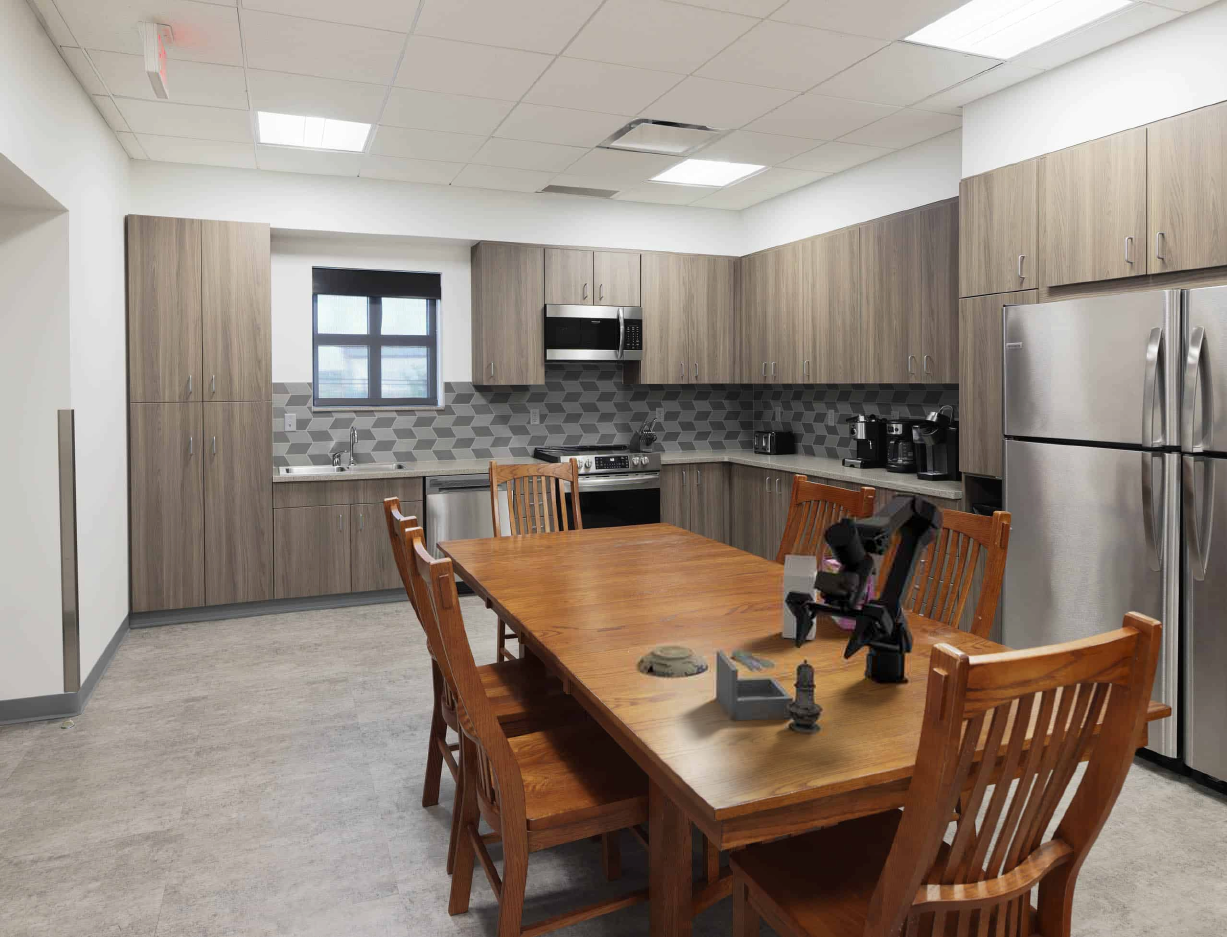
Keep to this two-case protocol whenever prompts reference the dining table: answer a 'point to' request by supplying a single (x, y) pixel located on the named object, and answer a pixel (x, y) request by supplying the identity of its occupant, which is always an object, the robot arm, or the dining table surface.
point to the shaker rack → (749, 694)
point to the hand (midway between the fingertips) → (820, 652)
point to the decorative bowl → (673, 662)
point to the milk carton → (798, 589)
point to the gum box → (832, 567)
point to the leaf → (751, 661)
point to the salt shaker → (804, 702)
